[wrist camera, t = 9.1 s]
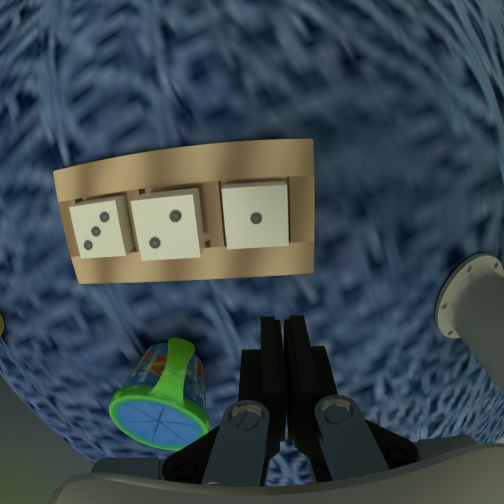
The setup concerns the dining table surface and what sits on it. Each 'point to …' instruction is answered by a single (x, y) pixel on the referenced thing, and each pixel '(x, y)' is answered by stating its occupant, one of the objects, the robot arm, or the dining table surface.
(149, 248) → the tile two
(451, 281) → the robot arm
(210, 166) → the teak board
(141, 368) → the snack cup
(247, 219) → the tile one
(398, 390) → the dining table surface
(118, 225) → the tile three
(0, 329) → the plant pot
